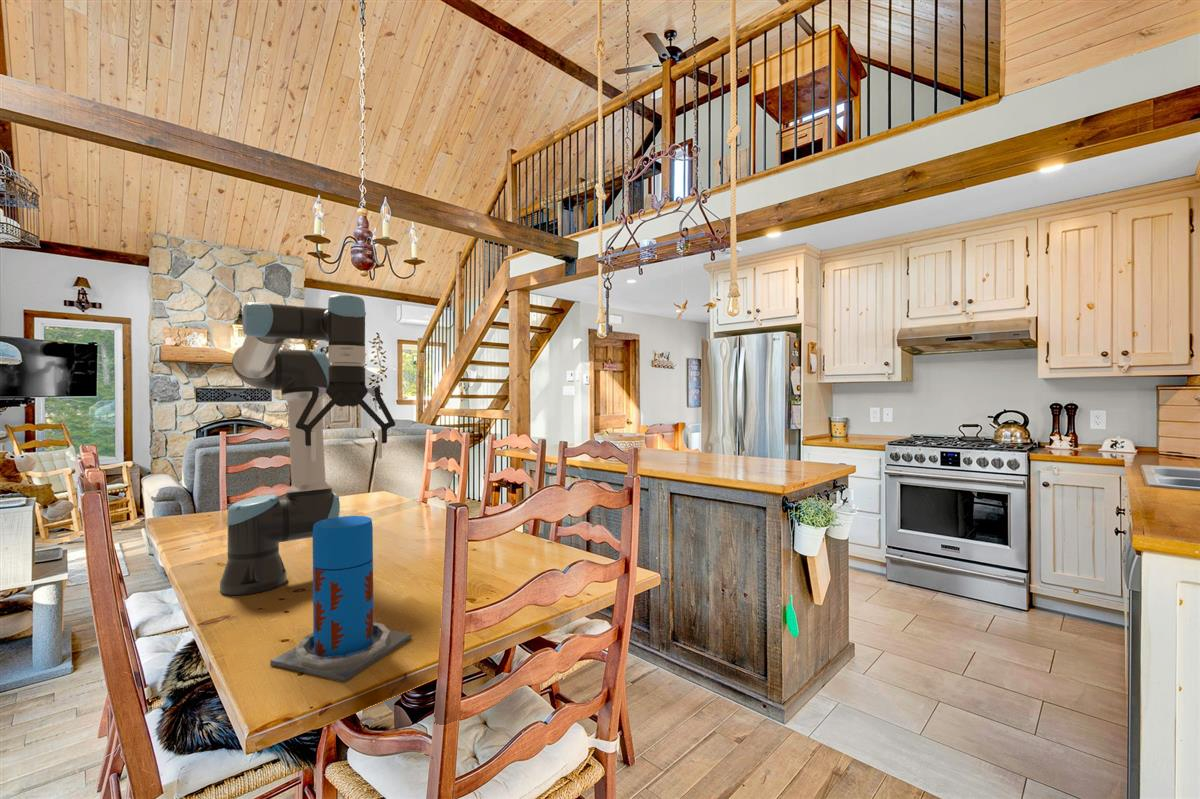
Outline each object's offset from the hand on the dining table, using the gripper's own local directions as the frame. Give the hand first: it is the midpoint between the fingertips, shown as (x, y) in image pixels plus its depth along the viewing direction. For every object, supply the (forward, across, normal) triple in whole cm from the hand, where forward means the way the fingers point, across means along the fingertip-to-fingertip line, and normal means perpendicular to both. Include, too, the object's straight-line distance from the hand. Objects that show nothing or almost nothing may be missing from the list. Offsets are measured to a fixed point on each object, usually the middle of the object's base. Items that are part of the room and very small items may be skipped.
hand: (347, 459), depth 122 cm
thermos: (+35, 0, -17) cm, 39 cm away
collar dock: (+36, 0, -17) cm, 40 cm away
